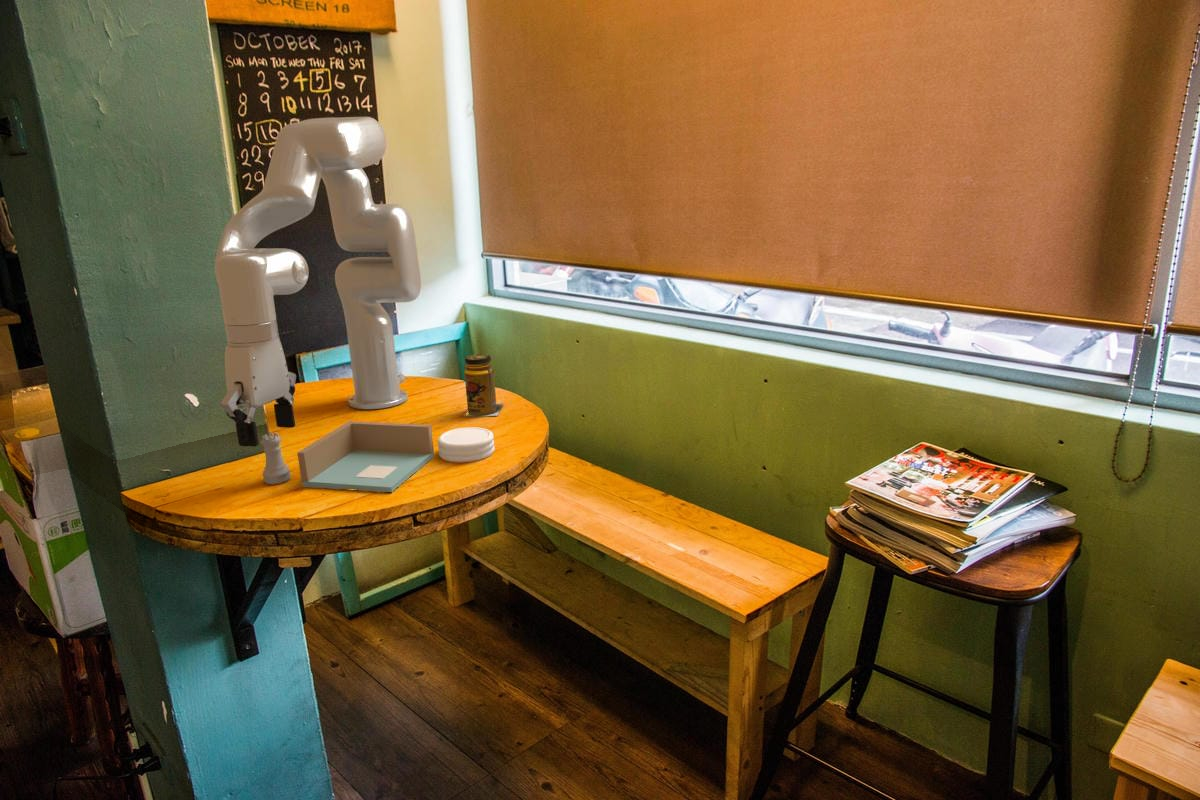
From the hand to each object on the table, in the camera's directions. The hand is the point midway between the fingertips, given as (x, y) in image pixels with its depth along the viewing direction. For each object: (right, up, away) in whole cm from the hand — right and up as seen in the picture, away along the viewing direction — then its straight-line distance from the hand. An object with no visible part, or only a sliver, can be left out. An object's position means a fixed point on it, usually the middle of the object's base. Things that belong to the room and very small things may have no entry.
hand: (268, 436), depth 127 cm
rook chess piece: (0, -8, +3) cm, 8 cm away
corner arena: (+15, -6, +5) cm, 17 cm away
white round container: (+30, -4, +13) cm, 33 cm away
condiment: (+30, +3, +36) cm, 47 cm away
